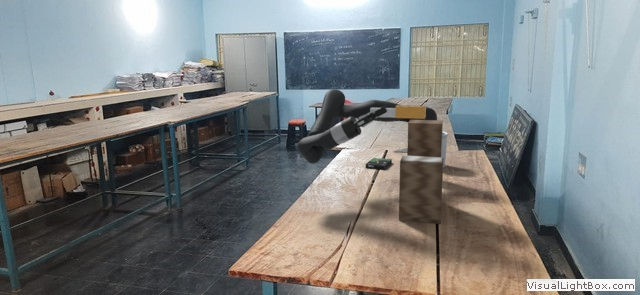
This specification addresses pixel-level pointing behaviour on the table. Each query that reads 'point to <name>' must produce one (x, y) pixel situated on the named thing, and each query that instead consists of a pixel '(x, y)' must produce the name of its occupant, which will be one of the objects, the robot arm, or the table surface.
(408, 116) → the bar
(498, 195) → the table surface
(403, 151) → the paper plane
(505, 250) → the table surface
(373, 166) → the disk drive
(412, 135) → the zigzag patterned block
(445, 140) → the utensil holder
